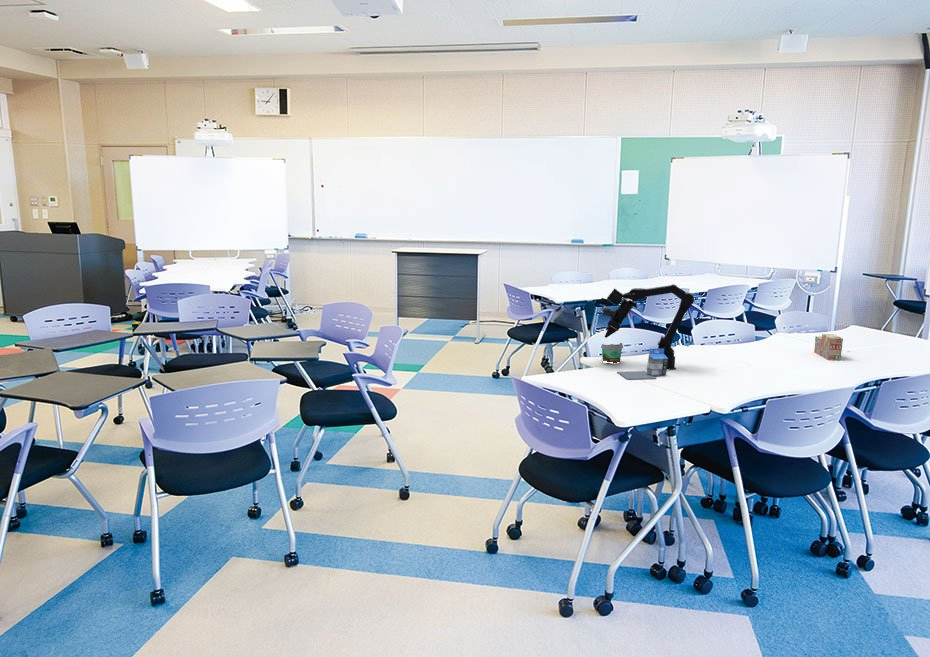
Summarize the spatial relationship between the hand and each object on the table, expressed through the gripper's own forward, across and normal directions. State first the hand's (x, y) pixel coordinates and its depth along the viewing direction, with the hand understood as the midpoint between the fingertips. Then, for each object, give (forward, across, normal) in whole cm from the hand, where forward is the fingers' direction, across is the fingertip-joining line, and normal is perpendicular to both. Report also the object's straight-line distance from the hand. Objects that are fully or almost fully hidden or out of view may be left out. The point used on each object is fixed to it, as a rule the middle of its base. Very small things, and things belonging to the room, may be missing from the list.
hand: (606, 335), depth 328 cm
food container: (+10, -2, +11) cm, 16 cm away
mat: (+4, +22, +22) cm, 31 cm away
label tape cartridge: (-1, +18, +29) cm, 34 cm away
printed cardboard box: (-45, -56, +106) cm, 128 cm away
